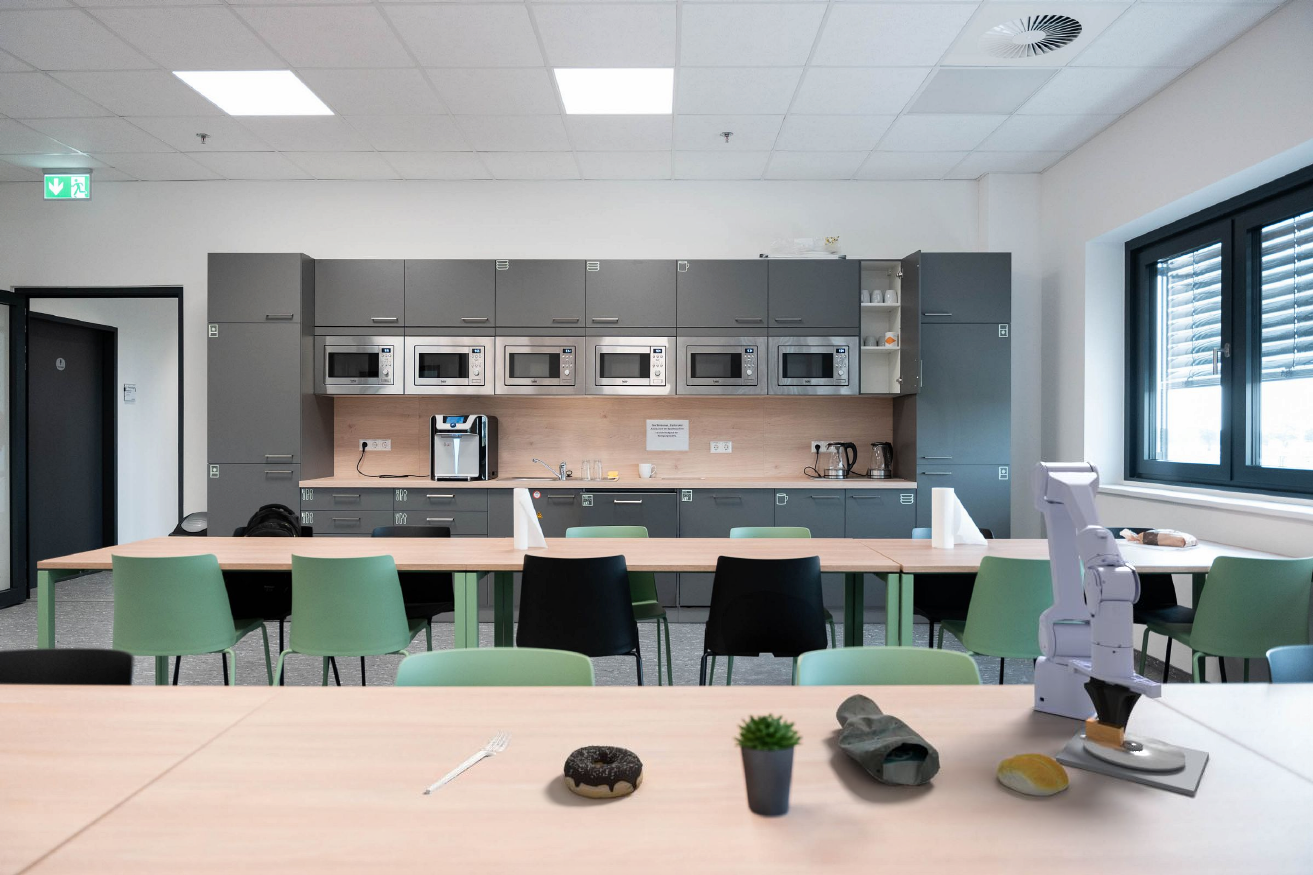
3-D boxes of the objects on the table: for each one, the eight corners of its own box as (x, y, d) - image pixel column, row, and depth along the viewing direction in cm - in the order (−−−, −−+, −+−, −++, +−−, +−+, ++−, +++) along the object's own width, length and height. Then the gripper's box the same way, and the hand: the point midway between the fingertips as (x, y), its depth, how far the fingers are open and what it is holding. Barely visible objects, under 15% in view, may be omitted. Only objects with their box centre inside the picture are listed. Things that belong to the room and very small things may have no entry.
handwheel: (1197, 755, 116) (1197, 732, 116) (1167, 779, 107) (1167, 755, 107) (1103, 730, 126) (1103, 709, 126) (1068, 750, 117) (1068, 728, 117)
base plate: (1055, 761, 116) (1055, 755, 116) (1083, 729, 129) (1083, 723, 129) (1193, 795, 105) (1193, 788, 105) (1208, 757, 117) (1208, 750, 117)
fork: (417, 794, 106) (417, 780, 106) (496, 741, 125) (496, 730, 125) (437, 798, 105) (437, 784, 105) (514, 744, 124) (514, 732, 124)
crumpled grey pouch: (954, 790, 107) (894, 720, 132) (950, 738, 106) (891, 679, 131) (859, 799, 106) (817, 728, 131) (855, 747, 106) (813, 686, 131)
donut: (582, 809, 102) (582, 778, 102) (551, 774, 112) (551, 747, 112) (657, 791, 107) (657, 762, 107) (620, 760, 117) (620, 733, 117)
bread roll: (1078, 787, 108) (1078, 758, 108) (1042, 803, 103) (1042, 773, 103) (1022, 766, 115) (1022, 738, 115) (985, 780, 110) (985, 752, 110)
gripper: (1175, 652, 116) (1176, 744, 115) (1090, 631, 129) (1091, 713, 129) (1141, 656, 113) (1142, 750, 113) (1058, 634, 127) (1059, 718, 127)
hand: (1112, 731), depth 121 cm, fingers closed
